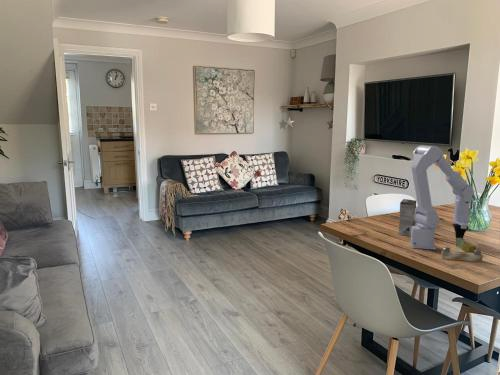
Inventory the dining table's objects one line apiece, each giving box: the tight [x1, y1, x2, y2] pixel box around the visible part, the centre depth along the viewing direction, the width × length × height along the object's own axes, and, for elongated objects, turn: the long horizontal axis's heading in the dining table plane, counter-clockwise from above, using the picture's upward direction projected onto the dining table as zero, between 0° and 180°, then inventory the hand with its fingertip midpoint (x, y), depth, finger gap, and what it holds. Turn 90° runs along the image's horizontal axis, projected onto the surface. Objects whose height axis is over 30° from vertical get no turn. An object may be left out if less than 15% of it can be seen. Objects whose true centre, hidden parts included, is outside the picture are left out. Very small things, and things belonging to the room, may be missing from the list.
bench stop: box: [441, 249, 483, 263], centre depth 154 cm, size 14×2×2 cm, turn 72°
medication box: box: [455, 237, 477, 253], centre depth 165 cm, size 12×3×4 cm, turn 177°
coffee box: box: [398, 198, 417, 237], centre depth 189 cm, size 9×6×16 cm
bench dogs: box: [442, 246, 482, 255], centre depth 154 cm, size 13×2×4 cm, turn 72°
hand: (459, 240), depth 173 cm, fingers closed
